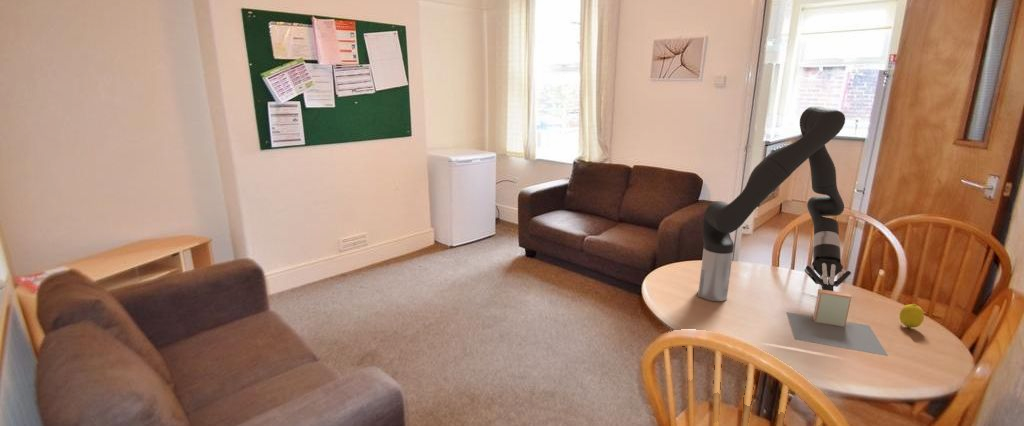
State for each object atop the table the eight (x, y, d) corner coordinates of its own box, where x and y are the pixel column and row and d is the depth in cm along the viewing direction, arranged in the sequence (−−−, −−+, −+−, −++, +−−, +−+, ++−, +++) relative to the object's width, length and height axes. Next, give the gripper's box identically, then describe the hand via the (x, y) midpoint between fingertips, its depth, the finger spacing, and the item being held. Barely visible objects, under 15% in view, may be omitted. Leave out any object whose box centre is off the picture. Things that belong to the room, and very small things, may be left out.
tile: (814, 322, 145) (820, 292, 142) (812, 318, 148) (818, 289, 145) (845, 327, 142) (851, 297, 139) (843, 323, 145) (849, 293, 142)
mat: (794, 341, 136) (794, 339, 136) (786, 313, 152) (786, 312, 152) (887, 357, 128) (888, 355, 128) (868, 327, 144) (869, 325, 144)
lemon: (914, 334, 140) (921, 309, 137) (893, 326, 144) (899, 302, 142) (924, 330, 142) (930, 305, 140) (902, 322, 147) (908, 298, 145)
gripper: (806, 240, 156) (806, 289, 149) (853, 245, 151) (856, 296, 144) (801, 250, 162) (801, 297, 155) (846, 255, 158) (849, 304, 150)
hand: (827, 296), depth 149 cm, fingers closed
